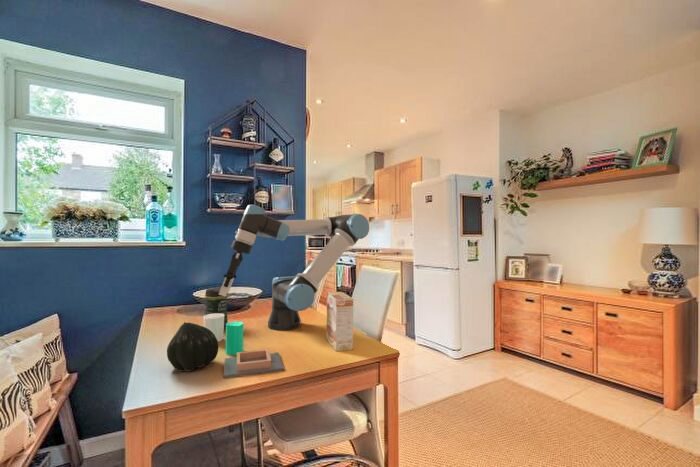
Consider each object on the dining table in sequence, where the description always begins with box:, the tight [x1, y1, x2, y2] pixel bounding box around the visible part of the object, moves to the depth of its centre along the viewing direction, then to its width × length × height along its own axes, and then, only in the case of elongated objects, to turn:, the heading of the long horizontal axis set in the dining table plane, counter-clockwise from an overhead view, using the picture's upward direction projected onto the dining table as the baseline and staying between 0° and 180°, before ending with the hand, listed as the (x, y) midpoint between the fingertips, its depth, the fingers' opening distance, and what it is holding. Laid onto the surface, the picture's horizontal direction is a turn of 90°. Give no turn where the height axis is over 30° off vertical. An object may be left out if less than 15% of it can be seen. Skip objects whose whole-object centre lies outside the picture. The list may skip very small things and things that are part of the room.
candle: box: [225, 321, 244, 356], centre depth 120 cm, size 6×6×12 cm
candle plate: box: [222, 348, 285, 379], centre depth 108 cm, size 18×14×3 cm
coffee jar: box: [204, 286, 229, 329], centre depth 150 cm, size 10×8×19 cm
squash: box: [166, 321, 219, 372], centre depth 107 cm, size 14×15×15 cm
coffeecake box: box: [325, 291, 354, 352], centre depth 130 cm, size 15×7×20 cm, turn 18°
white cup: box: [203, 313, 225, 343], centre depth 133 cm, size 8×8×10 cm
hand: (223, 293), depth 128 cm, fingers open, 13 cm apart
